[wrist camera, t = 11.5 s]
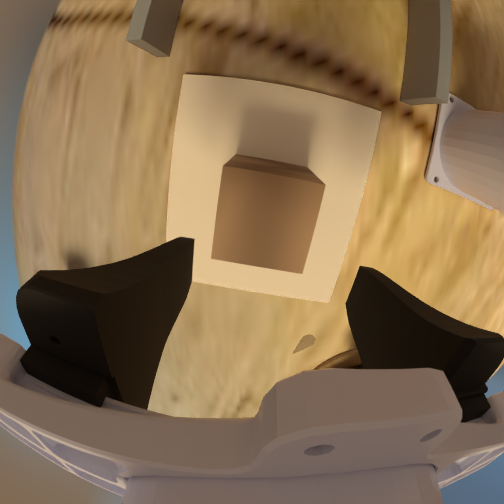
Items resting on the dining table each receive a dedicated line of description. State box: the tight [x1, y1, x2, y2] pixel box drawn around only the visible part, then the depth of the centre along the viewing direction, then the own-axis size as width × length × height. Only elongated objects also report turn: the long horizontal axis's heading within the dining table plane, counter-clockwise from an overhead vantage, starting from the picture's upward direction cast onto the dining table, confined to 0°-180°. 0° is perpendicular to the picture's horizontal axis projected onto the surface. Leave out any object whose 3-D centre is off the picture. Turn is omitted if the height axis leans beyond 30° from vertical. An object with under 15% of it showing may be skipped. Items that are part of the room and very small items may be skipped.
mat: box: [166, 74, 382, 303], centre depth 19 cm, size 14×16×1 cm
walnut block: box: [211, 154, 326, 274], centre depth 16 cm, size 5×5×6 cm
